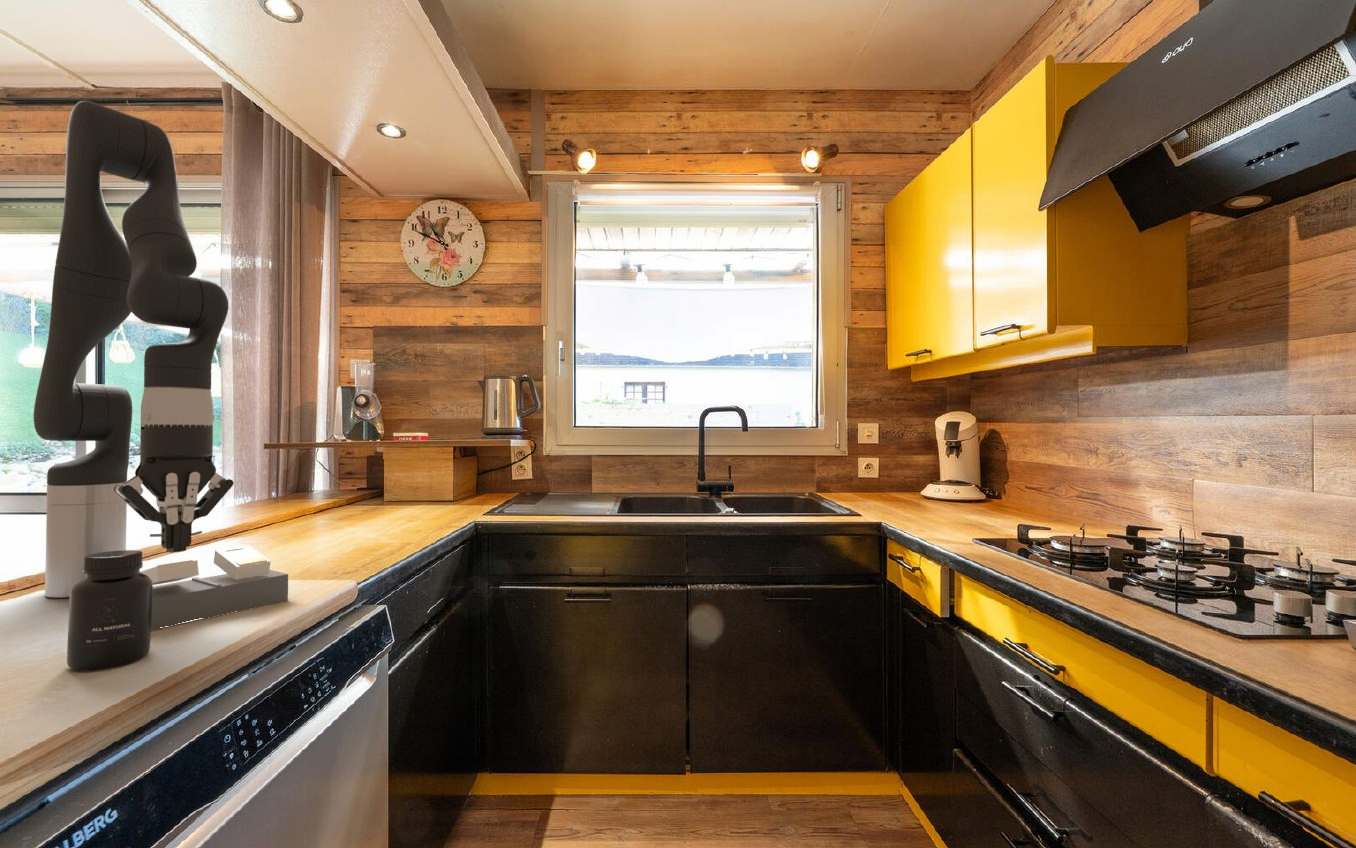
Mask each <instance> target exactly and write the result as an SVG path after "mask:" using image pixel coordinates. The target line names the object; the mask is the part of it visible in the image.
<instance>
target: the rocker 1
mask: <svg viewBox="0 0 1356 848" xmlns="http://www.w3.org/2000/svg"><path fill="white" fill-rule="evenodd" d="M140 573H143V574H145V575H147V576H149V577H150V578H151V580H152V582H153V586H157V585H163V584H169V583H175V582H180V581H183V580H185V579H189V578H194V577H196V576H197V577H198V576H199V573H200V572H199V563H198V560H197V559H196V560H193V559H191V560H186V561H177V562H171V563H165V564H158V565H156V566H155V567H151V568H148V569H144V570H141V571H140Z"/></svg>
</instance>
